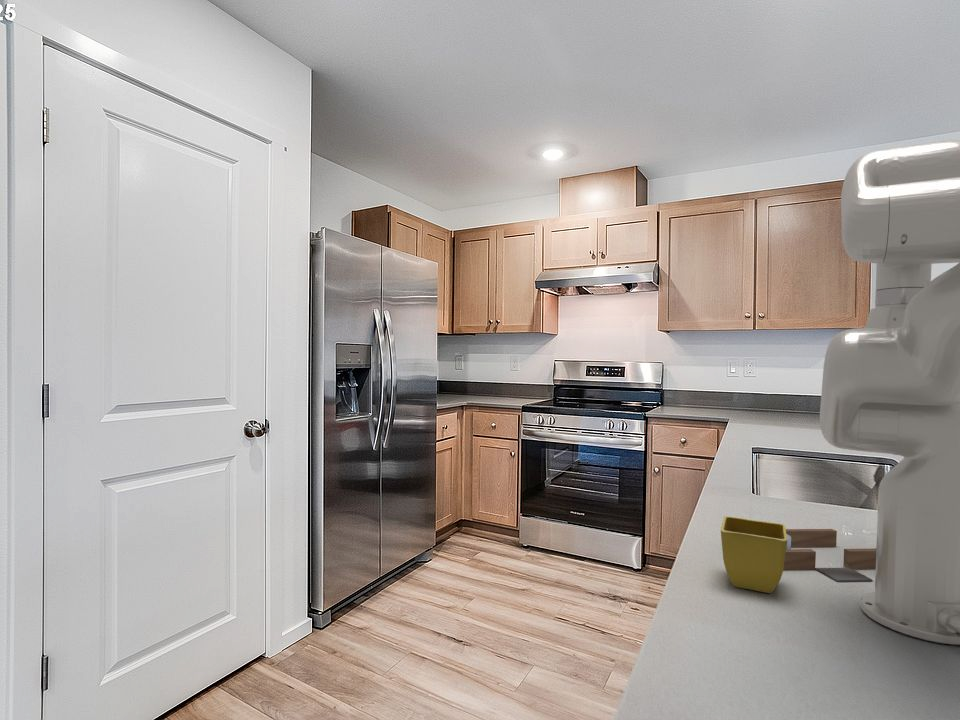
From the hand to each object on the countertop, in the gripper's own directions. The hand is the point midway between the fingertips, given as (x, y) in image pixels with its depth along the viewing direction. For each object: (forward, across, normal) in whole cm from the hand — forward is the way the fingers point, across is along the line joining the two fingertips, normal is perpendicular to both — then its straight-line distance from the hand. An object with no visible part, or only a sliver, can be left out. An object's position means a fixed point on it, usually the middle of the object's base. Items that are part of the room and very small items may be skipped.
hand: (898, 406), depth 93 cm
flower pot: (+27, +31, +8) cm, 42 cm away
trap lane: (+27, +14, -3) cm, 31 cm away
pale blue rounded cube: (+27, +20, -3) cm, 34 cm away
